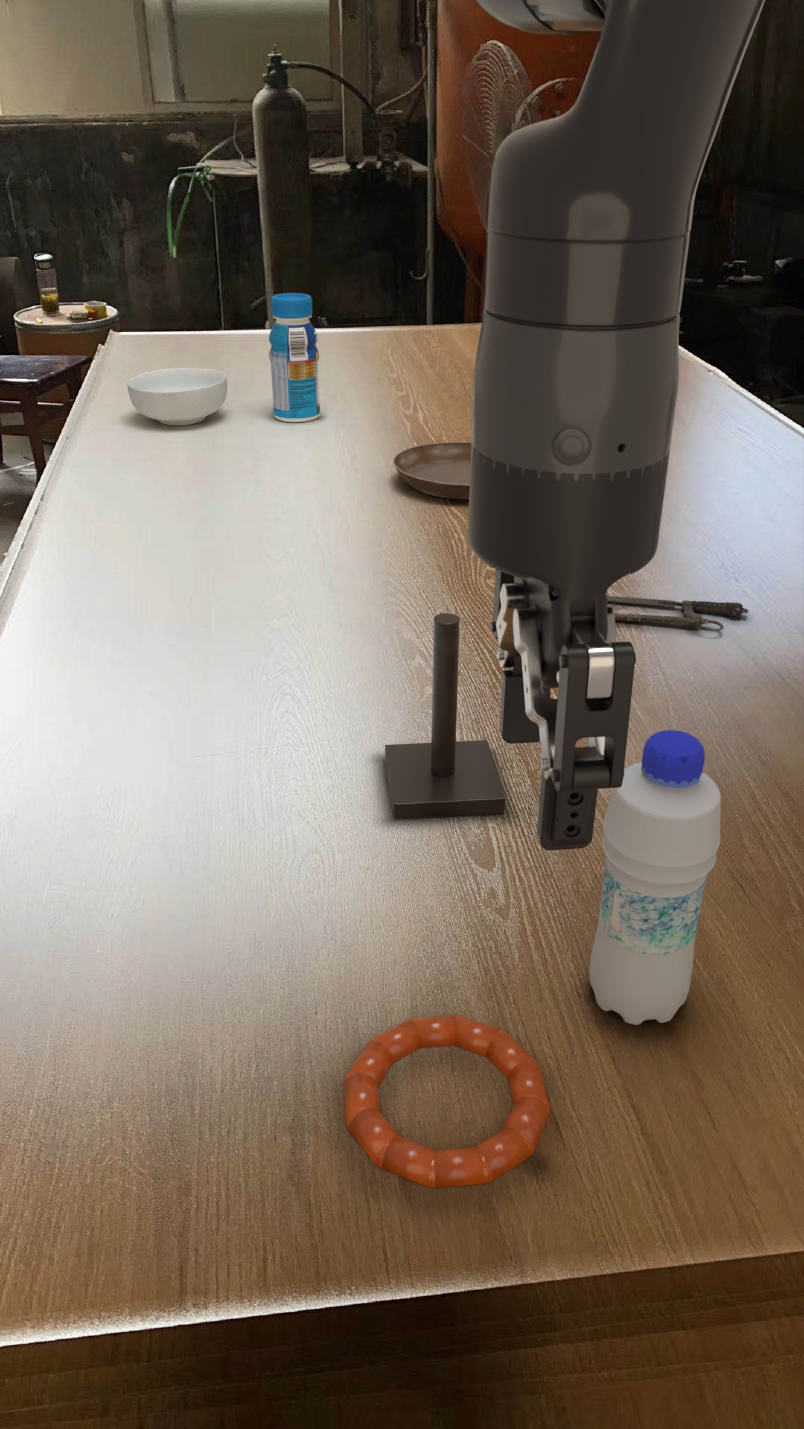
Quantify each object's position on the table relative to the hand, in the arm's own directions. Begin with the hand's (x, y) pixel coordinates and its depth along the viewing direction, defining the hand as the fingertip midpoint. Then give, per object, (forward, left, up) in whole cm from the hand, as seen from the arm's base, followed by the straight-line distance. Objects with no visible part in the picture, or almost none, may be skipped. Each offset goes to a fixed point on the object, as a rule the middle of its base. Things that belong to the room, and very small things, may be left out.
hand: (541, 787), depth 50 cm
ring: (+4, -2, -22) cm, 23 cm away
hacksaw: (-25, -65, -24) cm, 74 cm away
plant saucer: (-13, -113, -24) cm, 116 cm away
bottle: (-10, -9, -24) cm, 27 cm away
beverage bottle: (+11, -151, -24) cm, 153 cm away
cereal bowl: (+31, -151, -24) cm, 156 cm away
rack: (0, -35, -24) cm, 42 cm away
